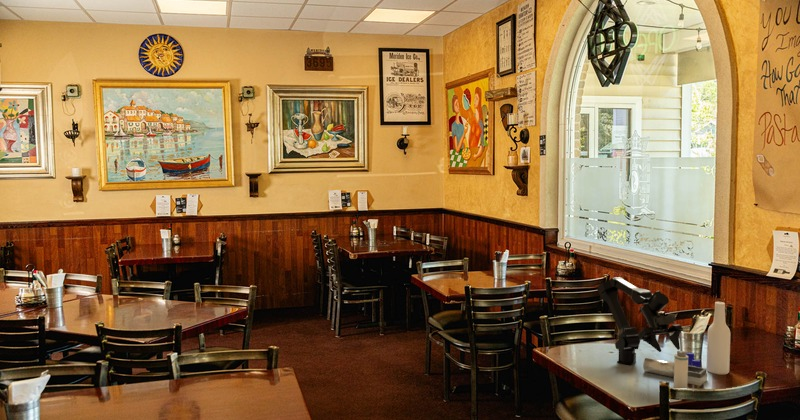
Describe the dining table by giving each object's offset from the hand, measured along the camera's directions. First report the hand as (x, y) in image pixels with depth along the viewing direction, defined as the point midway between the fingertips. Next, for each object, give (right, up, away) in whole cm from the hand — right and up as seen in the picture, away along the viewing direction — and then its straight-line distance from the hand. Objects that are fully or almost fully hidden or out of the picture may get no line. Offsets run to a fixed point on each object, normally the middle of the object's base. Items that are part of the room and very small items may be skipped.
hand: (669, 350), depth 270 cm
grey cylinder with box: (+4, -12, +7) cm, 15 cm away
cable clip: (+16, -12, +16) cm, 25 cm away
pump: (+2, -14, -6) cm, 15 cm away
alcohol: (+26, -12, +14) cm, 32 cm away
